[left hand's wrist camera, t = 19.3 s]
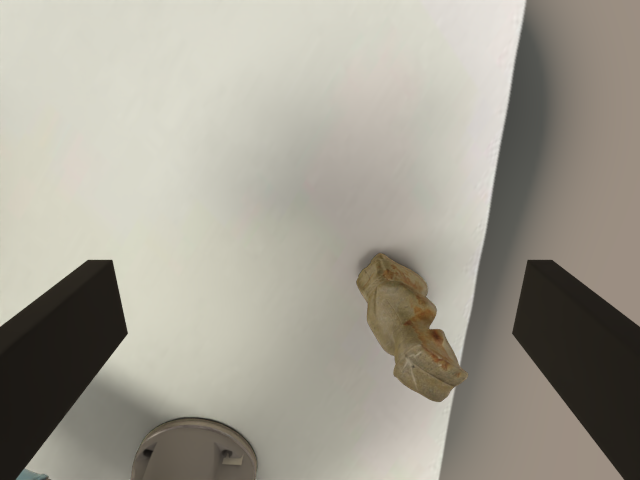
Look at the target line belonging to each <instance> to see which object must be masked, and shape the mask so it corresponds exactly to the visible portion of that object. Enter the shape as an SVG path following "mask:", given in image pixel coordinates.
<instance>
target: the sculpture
mask: <svg viewBox="0 0 640 480" xmlns="http://www.w3.org/2000/svg"><path fill="white" fill-rule="evenodd" d="M356 283H357V286H358V288H359V290H360V292H361V294H362V295H363V297H364V298H365V300H366V301H367V303H368V309H367V322H368V324H369V326H370V328H371V330H372V332H373V333H374V335H375V337H376V338H377V340H378V342H379V343H380V345H381V346H382V348H383V349H384V350H385V351H386V352H387V353H389V354H391V355H393V356H395V363H396V365H395V368H394V372H393V374H394V376H395V377H397V378H398V379H399V380H400V382H402V383H403V384H404V385H405V386H407V387H408V388H410V389H412V390H413V391H415V392H417V393H419V394H421V395H423V396H425V397H426V398H428V399H430V400H432V401H436V402H441V401H442V400H444V399H445V398H446V397H447V396H448V395H449V393H450V391H451V390H452V389H453V388H454V387H455V386H457V385H459V384H460V383H462V382H463V381H464V380H465V379H466V378H467V377H468V373H467V372H466V371H464V370H463V369H462V368H461V367H460V366H459V364H458V361H457V358H456V356H455V354H454V352H453V350H452V348H451V346H450V345H449V343H448V341H447V339H446V337H445V334H444V332H443V331H442V330H440V329H429V327H430V325H431V323H432V322H433V320H434V318H435V316H436V312H437V311H436V307H435V305H434V304H433V303H432V302H431V301H430V300H429V299H427V298H426V295H427V291H428V288H427V284H426V282H425V281H424V280H423V279H422V278H421V277H420V276H419V275H418V274H416V273H415V272H413V271H412V270H410V269H408V268H406V267H404V266H402V265H400V264H398V263H396V262H394V261H393V260H391V259H390V258H388V257H387V256H386V255H384V254H382V253H379V254H377V255H376V256H375V257H374V258H373V259H372V260H371V263H370V264H369V266H368V267H367V268H364V269H363V270H362V272H361V273H360V274H359V276H358V279H357V281H356Z"/></svg>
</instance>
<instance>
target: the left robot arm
mask: <svg viewBox="0 0 640 480" xmlns="http://www.w3.org/2000/svg"><path fill="white" fill-rule="evenodd" d="M127 334H128V332H127V327H126V323H125V318H124V313H123V308H122V304H121V299H120V294H119V289H118V285H117V280H116V275H115V270H114V266H113V261H112V260H87V261H86V262H85V263H83V264H82V265H81V266H79V267H78V268H77V269H76V270H74V271H73V272H72V273H70V274H69V275H68V276H66V277H65V278H64V279H62V280H61V281H60V282H58V283H57V284H56V285H55V286H53V287H52V288H51V289H49V290H48V291H47V292H45V293H44V294H43V295H41V296H40V297H39V298H37V299H36V300H35V301H34V302H32V303H31V304H30V305H28V306H27V307H26V308H24V309H23V310H22V311H20V312H19V313H18V314H17V315H15V316H14V317H13V318H11V319H10V320H9V321H7V322H6V323H5V324H3V325H2V326H1V327H0V480H50V479H48V478H49V477H48V476H47V475H45V474H41V475H39V474H37V473H34V472H32V471H29V470H27V469H24V468H25V467H26V466H27V464H28V463H29V462H30V460H31V459H32V458H33V456H34V455H35V454H36V453H37V451H38V450H39V449H40V447H41V446H42V445H43V443H44V442H45V441H46V440H47V438H48V437H49V436H50V434H51V433H52V432H53V430H54V429H55V428H56V426H57V425H58V424H59V423H60V421H61V420H62V419H63V417H64V416H65V415H66V413H67V412H68V411H69V410H70V408H71V407H72V406H73V404H74V403H75V402H76V400H77V399H78V398H79V397H80V395H81V394H82V393H83V391H84V390H85V389H86V387H87V386H88V385H89V383H90V382H91V381H92V380H93V378H94V377H95V376H96V374H97V373H98V372H99V370H100V369H101V368H102V367H103V365H104V364H105V363H106V361H107V360H108V359H109V357H110V356H111V355H112V354H113V352H114V351H115V350H116V348H117V347H118V346H119V344H120V343H121V342H122V340H123V339H124V338H125V337H126V335H127ZM512 334H513V335H514V336H515V338H516V339H517V340H518V342H519V343H520V344H521V346H522V347H523V348H524V350H525V351H526V352H527V353H528V355H529V356H530V357H531V359H532V360H533V361H534V363H535V364H536V365H537V366H538V368H539V369H540V370H541V372H542V373H543V374H544V376H545V377H546V378H547V379H548V381H549V382H550V383H551V385H552V386H553V387H554V389H555V390H556V391H557V393H558V394H559V395H560V396H561V398H562V399H563V400H564V402H565V403H566V404H567V406H568V407H569V408H570V410H571V411H572V412H573V413H574V415H575V416H576V417H577V419H578V420H579V421H580V423H581V424H582V425H583V426H584V428H585V429H586V430H587V432H588V433H589V434H590V436H591V437H592V438H593V440H594V441H595V442H596V443H597V445H598V446H599V447H600V449H601V450H602V451H603V452H604V454H605V455H606V456H607V458H608V459H609V460H610V462H611V463H612V464H613V466H614V467H615V468H616V470H617V471H618V472H619V473H620V475H621V476H622V477H623V479H624V480H640V327H639V326H638V325H637V324H635V323H634V322H633V321H631V320H630V319H629V318H627V317H626V316H625V315H623V314H622V313H621V312H620V311H618V310H617V309H616V308H614V307H613V306H612V305H610V304H609V303H608V302H606V301H605V300H604V299H602V298H601V297H600V296H599V295H597V294H596V293H595V292H593V291H592V290H591V289H589V288H588V287H587V286H585V285H584V284H583V283H582V282H580V281H579V280H578V279H576V278H575V277H574V276H572V275H571V274H570V273H568V272H567V271H566V270H564V269H563V268H562V267H561V266H559V265H558V264H557V263H555V262H554V261H553V260H528V261H527V266H526V270H525V275H524V280H523V285H522V289H521V294H520V299H519V304H518V308H517V313H516V318H515V323H514V327H513V332H512ZM256 471H257V461H256V457H255V454H254V451H253V449H252V448H251V446H250V445H249V443H248V442H247V441H246V440H245V439H244V438H243V437H242V436H241V435H240V434H238V433H237V432H235V431H234V430H232V429H230V428H229V427H227V426H224V425H222V424H219V423H217V422H213V421H209V420H204V419H192V418H190V419H178V420H173V421H170V422H167V423H164V424H162V425H160V426H158V427H156V428H155V429H153V430H152V431H151V432H150V433H149V434H148V435H147V436H146V437H145V438H144V440H143V441H142V443H141V445H140V447H139V449H138V451H137V453H136V456H135V460H134V463H133V467H132V475H131V480H255V477H256Z"/></svg>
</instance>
